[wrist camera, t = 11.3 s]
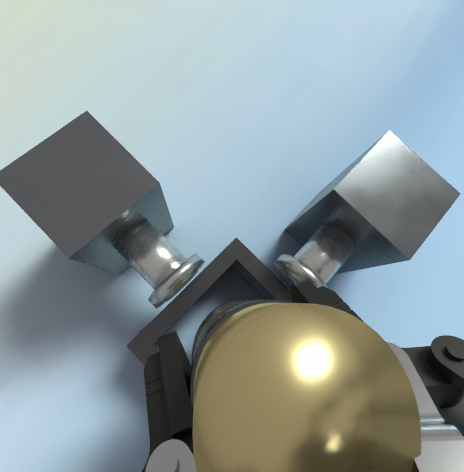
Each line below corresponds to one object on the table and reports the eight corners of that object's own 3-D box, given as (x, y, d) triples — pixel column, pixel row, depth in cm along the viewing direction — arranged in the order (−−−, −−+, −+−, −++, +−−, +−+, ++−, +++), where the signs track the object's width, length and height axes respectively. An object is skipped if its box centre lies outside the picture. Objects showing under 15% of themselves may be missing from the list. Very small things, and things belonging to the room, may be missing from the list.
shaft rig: (229, 99, 24) (244, 1, 16) (388, 247, 22) (490, 220, 14) (49, 244, 19) (-52, 206, 11) (233, 439, 18) (260, 547, 10)
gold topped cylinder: (237, 281, 16) (298, 253, 7) (302, 344, 16) (466, 410, 6) (172, 351, 15) (131, 442, 5) (241, 421, 15) (331, 655, 5)
